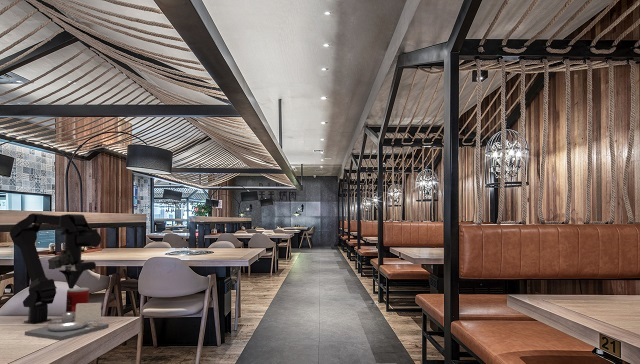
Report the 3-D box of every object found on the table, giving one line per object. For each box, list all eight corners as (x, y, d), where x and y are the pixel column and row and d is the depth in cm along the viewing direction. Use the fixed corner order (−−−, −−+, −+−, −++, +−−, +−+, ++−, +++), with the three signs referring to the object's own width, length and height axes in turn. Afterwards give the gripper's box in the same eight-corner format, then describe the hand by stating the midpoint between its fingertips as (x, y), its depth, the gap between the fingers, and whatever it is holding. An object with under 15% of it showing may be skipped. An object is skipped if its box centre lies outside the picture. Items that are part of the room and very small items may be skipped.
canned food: (92, 314, 174) (93, 287, 176) (79, 318, 167) (80, 290, 168) (74, 314, 175) (76, 287, 176) (61, 318, 167) (62, 290, 168)
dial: (40, 331, 141) (41, 307, 141) (58, 323, 152) (59, 301, 153) (92, 329, 142) (93, 306, 143) (106, 321, 154) (107, 300, 155)
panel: (24, 335, 142) (24, 330, 142) (74, 323, 159) (75, 319, 159) (61, 340, 135) (61, 335, 136) (109, 327, 152) (109, 323, 152)
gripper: (35, 247, 157) (33, 290, 156) (70, 248, 150) (68, 293, 149) (63, 246, 167) (61, 286, 166) (97, 246, 160) (95, 288, 159)
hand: (71, 288), depth 160 cm, fingers closed
